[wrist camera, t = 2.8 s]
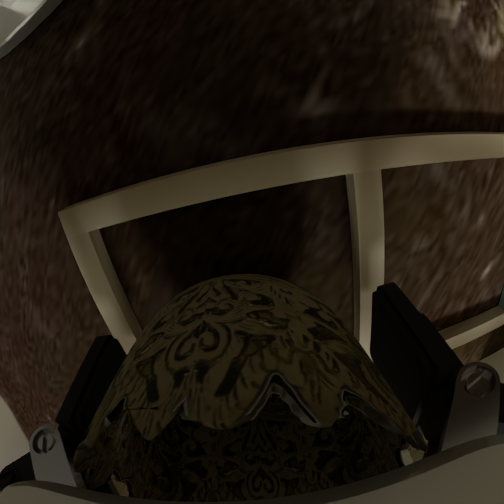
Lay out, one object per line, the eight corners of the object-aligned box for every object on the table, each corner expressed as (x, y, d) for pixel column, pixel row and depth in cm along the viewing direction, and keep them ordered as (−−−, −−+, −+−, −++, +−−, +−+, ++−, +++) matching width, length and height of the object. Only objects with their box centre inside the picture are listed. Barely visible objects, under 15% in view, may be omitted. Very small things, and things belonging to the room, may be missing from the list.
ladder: (68, 206, 10) (57, 212, 9) (586, 140, 8) (593, 142, 8) (164, 402, 14) (162, 413, 13) (568, 275, 13) (574, 279, 12)
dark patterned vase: (123, 235, 10) (-3, 415, 3) (328, 196, 10) (486, 363, 3) (182, 377, 13) (162, 533, 6) (335, 353, 13) (387, 508, 6)
